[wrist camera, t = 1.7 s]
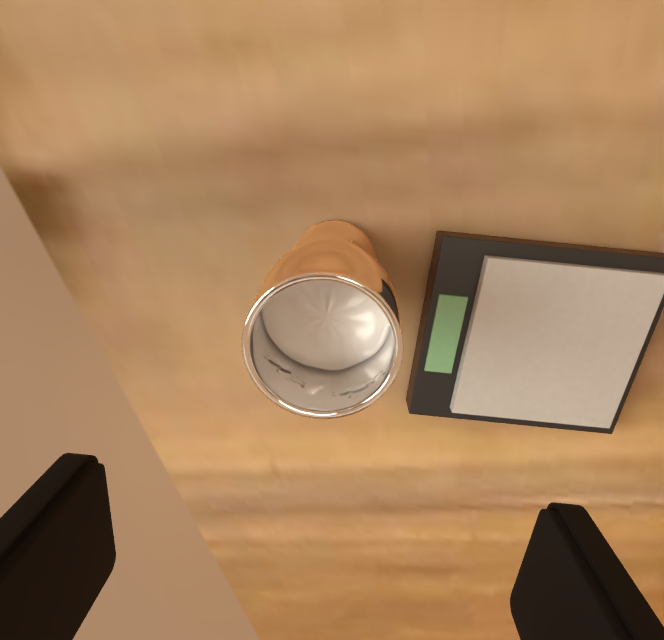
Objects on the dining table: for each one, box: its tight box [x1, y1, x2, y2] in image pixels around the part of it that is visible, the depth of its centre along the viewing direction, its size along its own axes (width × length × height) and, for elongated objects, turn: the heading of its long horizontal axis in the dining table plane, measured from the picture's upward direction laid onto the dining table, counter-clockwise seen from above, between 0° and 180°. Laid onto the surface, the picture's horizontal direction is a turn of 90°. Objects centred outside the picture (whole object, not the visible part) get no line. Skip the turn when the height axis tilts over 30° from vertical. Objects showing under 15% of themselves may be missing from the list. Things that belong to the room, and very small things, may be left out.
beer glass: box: [242, 220, 403, 419], centre depth 24 cm, size 7×7×15 cm
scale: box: [406, 231, 664, 434], centre depth 31 cm, size 16×14×3 cm
